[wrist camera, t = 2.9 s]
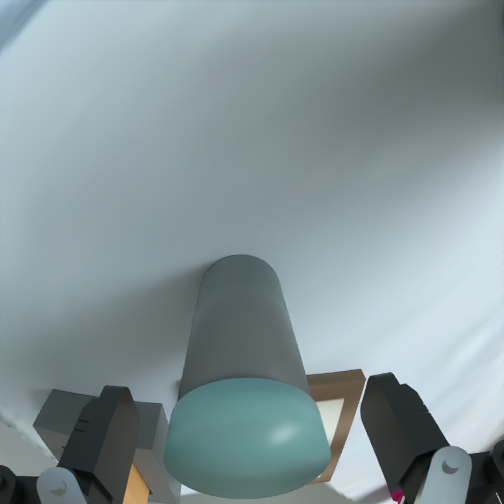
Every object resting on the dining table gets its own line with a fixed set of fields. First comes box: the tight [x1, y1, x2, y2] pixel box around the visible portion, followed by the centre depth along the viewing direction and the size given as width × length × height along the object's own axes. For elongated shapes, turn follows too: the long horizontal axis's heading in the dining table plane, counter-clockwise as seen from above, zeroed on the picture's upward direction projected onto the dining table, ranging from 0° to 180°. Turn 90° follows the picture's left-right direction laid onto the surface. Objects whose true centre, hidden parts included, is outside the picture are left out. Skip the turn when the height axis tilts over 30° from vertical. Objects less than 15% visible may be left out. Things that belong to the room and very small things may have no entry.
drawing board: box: [306, 369, 366, 485], centre depth 20 cm, size 14×11×1 cm
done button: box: [123, 462, 149, 504], centre depth 16 cm, size 5×5×4 cm
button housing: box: [33, 389, 181, 504], centre depth 18 cm, size 9×9×4 cm
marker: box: [163, 255, 331, 499], centre depth 11 cm, size 4×4×10 cm
